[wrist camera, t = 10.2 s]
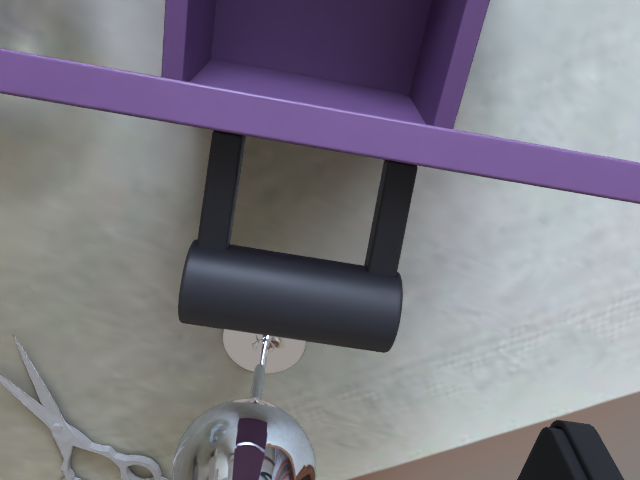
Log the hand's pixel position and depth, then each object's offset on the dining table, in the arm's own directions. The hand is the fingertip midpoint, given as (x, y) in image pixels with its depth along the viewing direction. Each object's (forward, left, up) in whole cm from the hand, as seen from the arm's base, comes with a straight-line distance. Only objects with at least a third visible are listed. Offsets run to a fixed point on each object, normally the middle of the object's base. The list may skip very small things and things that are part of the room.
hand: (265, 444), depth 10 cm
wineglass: (+18, -7, -29) cm, 35 cm away
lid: (-2, +1, -12) cm, 12 cm away
